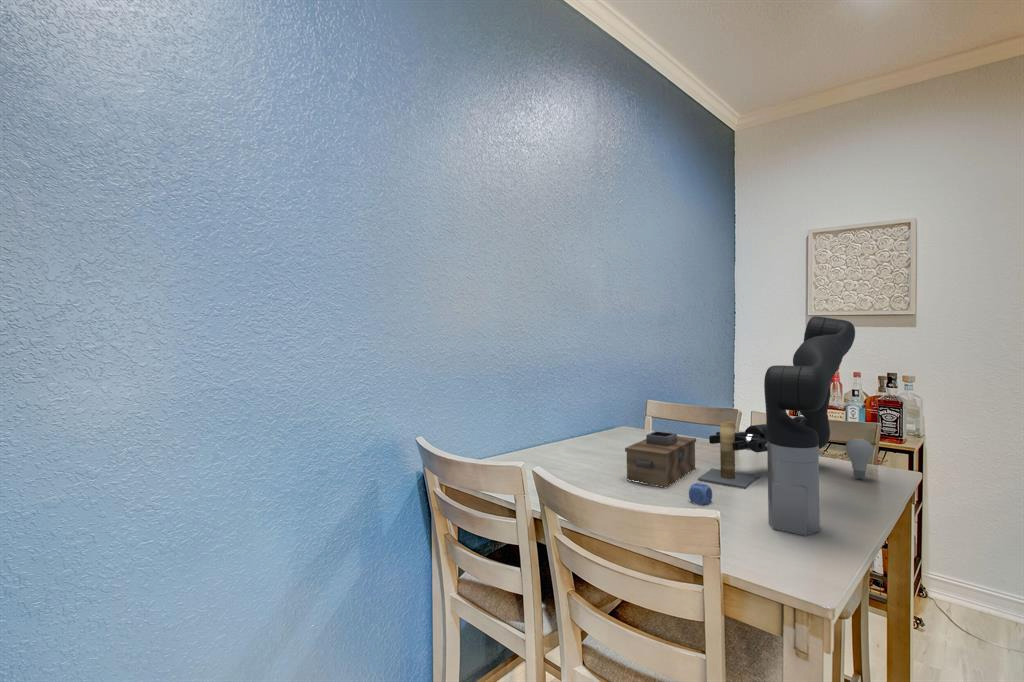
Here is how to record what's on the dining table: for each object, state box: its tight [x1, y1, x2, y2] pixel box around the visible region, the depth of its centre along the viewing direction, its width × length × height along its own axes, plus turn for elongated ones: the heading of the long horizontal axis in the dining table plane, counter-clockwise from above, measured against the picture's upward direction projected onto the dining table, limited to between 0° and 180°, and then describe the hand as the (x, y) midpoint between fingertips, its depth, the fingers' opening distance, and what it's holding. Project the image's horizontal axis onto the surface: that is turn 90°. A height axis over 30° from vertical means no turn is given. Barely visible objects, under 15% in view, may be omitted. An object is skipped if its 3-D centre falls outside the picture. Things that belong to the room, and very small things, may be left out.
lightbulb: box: [844, 437, 874, 480], centre depth 129 cm, size 6×6×11 cm
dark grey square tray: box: [645, 430, 678, 447], centre depth 138 cm, size 6×6×2 cm
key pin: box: [719, 420, 736, 479], centre depth 132 cm, size 4×4×15 cm
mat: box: [697, 467, 758, 490], centre depth 132 cm, size 12×12×1 cm
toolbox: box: [624, 435, 697, 488], centre depth 138 cm, size 25×12×9 cm, turn 140°
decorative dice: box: [688, 482, 713, 506], centre depth 115 cm, size 4×4×4 cm
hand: (721, 443), depth 131 cm, fingers open, 8 cm apart
